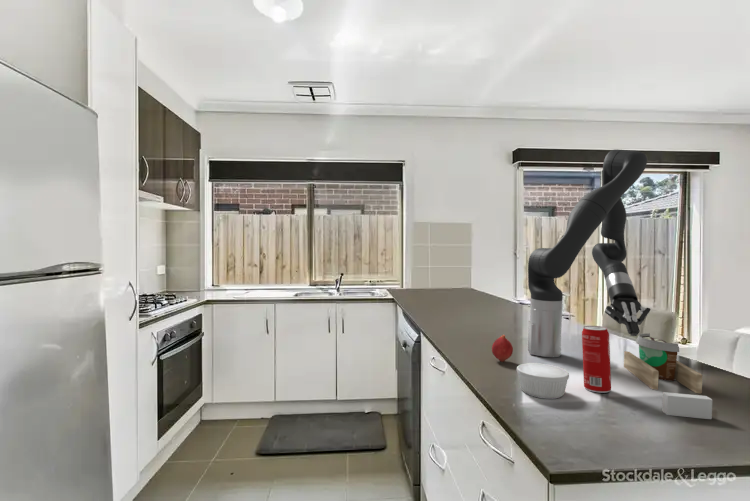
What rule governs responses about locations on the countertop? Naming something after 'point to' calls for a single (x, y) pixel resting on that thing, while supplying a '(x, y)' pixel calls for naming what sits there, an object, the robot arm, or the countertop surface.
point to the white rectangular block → (687, 405)
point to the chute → (651, 375)
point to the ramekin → (542, 380)
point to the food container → (658, 355)
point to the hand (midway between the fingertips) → (634, 334)
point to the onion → (502, 348)
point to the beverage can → (596, 359)
